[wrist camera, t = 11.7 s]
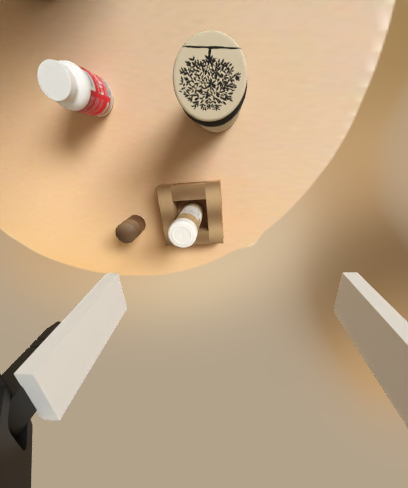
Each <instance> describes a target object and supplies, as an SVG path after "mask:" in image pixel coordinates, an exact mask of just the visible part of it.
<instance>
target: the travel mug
mask: <svg viewBox="0 0 408 488" xmlns="http://www.w3.org/2000/svg"><path fill="white" fill-rule="evenodd" d="M173 85H174V91H175V94H176V97H177V99H178V101H179V103H180V105H181V106H182V108H183V110H184V111H185V113H186V114H187V115H188V116H189V117H190V118H191V119H192V120H193V121H195V122H196V123H197V124H199V125H200V126H202V127H203V128H204V129H206V130H208V131H210V132H222V131H225V130H227V129H228V128H229V127H231V126H232V125H233V123H234V122H235V121H236V119H237V117H238V114H239V112H240V109H241V106H242V104H243V101H244V98H245V95H246V90H247V66H246V61H245V57H244V55H243V52H242V50H241V49H240V47H239V45H238V44H237V43H236V42H235V41H234V40H233V39H232V38H231V37H230V36H228V35H227V34H225V33H223V32H220V31H215V30H208V31H203V32H200V33H197V34H196V35H194V36H192V37H191V38H190V39H189V40H188V41H187V42H186V43H185V44H184V45H183V46H182V48H181V49H180V51H179V53H178V55H177V58H176V60H175V64H174V69H173Z"/></svg>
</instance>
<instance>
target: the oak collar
mask: <svg viewBox="0 0 408 488" xmlns="http://www.w3.org/2000/svg"><path fill="white" fill-rule="evenodd" d="M156 190H157V195H158V201H159V207H160V213H161V219H162V224H163V230H164V236H165V242H166V246H167V245H174V244H173V243H172V242H171V241H170V239H169V237H168V230H169V227H170V226H171V224H172V223H173V222H174V221H175V220H176V218H177V217H178V215H179V213H178V206H177V201H184V200H199V199H206V205H207V216H208V226H199V228H198V234H197V237H196V240H195V242H194V243H193V244H215V243H223V220H222V202H221V184H220V180H217V181H204V182H191V183H177V184H164V185H160V186H158V187H157V188H156Z"/></svg>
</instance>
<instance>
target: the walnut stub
mask: <svg viewBox="0 0 408 488" xmlns="http://www.w3.org/2000/svg"><path fill="white" fill-rule="evenodd" d="M145 226H146V225H145V221H144V219H143V218H142V217H140V216H138V215H133V216H131V217H129V218H128V219H127V220H125V221H124V222H123V223H121V224H120V225H119V226H118V227H117V228H116V236H117V238H118V239H119V240H120V241H122V242H124V243H130V242H132V241H133V240H134V239H135V238H136V237H137V236H138V235H139V234H140V233H141V232H142V231H143V230H144V229H145Z"/></svg>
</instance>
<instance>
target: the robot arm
mask: <svg viewBox="0 0 408 488" xmlns="http://www.w3.org/2000/svg"><path fill="white" fill-rule="evenodd" d="M126 309H127V305H126V302H125V298H124V294H123V290H122V286H121V282H120V278H119V274H118V273H106V274H105V275H104V277H103V278H102V279H101V280H100V281H99V282H98V283H97V284H96V285H95V286H94V287H93V288H92V290H91V291H90V292H89V293H88V294H87V295H86V296H85V297H84V298H83V299H82V300H81V301H80V302H79V304H78V305H77V306H76V307H75V308H74V309H73V310H72V311H71V312H70V313H69V314H68V316H67V317H66V318H65V319H64V320H63V321H62V322H56V323H55V324H53V325H52V326H50V327H49V328H47V329H46V330H45V331H44V332H43V333H42V334H41V335H40V336H39V337H38V339H37V340H35V341H34V342H33V343H32V345H30V348H28V349H27V350H26V351H25V352H24V353H23V354H22V355H21V356H20V357H19V358H18V359H17V360H16V361H15V362H14V363H13V364H12V365H11V366H10V367H9V368H8V369H7V370H6V371H5V372H4V373H3V374H2V375H0V488H31V462H32V422H31V420H30V419H31V417H32V416H33V415H34V413H35V412H36V411H37V412H38V414H39V416H40V417H41V419H43V420H56V421H60V419H61V417H62V416H63V414H64V412H65V411H66V409H67V407H68V405H69V404H70V402H71V401H72V399H73V397H74V396H75V394H76V392H77V391H78V389H79V387H80V386H81V384H82V382H83V381H84V379H85V377H86V376H87V374H88V372H89V371H90V369H91V368H92V366H93V364H94V363H95V361H96V359H97V357H98V356H99V354H100V353H101V351H102V349H103V348H104V346H105V344H106V343H107V341H108V339H109V337H110V336H111V334H112V333H113V331H114V329H115V327H116V326H117V324H118V322H119V321H120V319H121V318H122V316H123V314H124V313H125V311H126ZM334 313H335V314H336V316H337V318H338V319H339V321H340V322H341V324H342V326H343V327H344V328H345V330H346V332H347V333H348V335H349V336H350V338H351V340H352V341H353V343H354V344H355V346H356V347H357V349H358V350H359V352H360V354H361V355H362V357H363V358H364V360H365V361H366V363H367V365H368V366H369V368H370V369H371V371H372V372H373V374H374V376H375V377H376V379H377V380H378V382H379V383H380V385H381V387H382V388H383V390H384V391H385V393H386V394H387V396H388V398H389V399H390V401H391V402H392V404H393V405H394V407H395V409H396V410H397V412H398V413H399V415H400V416H401V418H402V420H403V421H404V423H405V424H406V426H407V427H408V322H407V321H406V320H405V319H404V318H403V317H402V316H401V315H400V314H399V313H398V312H397V311H395V309H394V308H392V306H391V305H389V304H388V302H387V301H385V300H384V299H383V298H382V297H381V296H380V295H379V294H378V293H377V292H376V291H375V290H374V289H373V288H372V287H371V286H370V285H369V284H368V283H367V282H366V281H365V280H364V279H363V278H362V277H361V276H360V275H359V274H358V273H342V277H341V281H340V285H339V290H338V294H337V298H336V303H335V307H334Z"/></svg>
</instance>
